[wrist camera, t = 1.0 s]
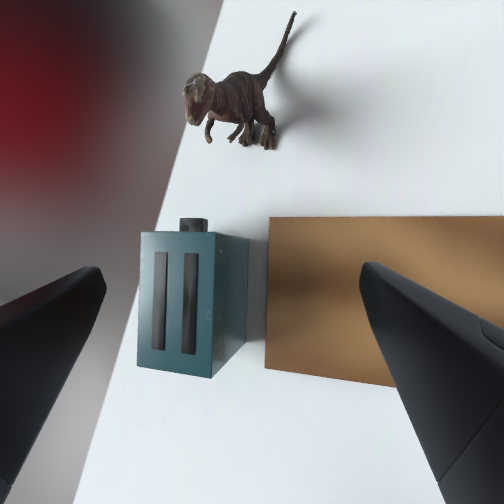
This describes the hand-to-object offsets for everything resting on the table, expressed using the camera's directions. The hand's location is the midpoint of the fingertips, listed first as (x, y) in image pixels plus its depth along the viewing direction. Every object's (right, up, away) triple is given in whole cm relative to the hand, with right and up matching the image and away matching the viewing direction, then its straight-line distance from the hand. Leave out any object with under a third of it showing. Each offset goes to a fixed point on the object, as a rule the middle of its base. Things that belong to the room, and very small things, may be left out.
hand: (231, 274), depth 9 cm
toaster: (-3, -3, +18) cm, 18 cm away
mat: (+13, -3, +13) cm, 19 cm away
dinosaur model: (+2, +15, +17) cm, 23 cm away
